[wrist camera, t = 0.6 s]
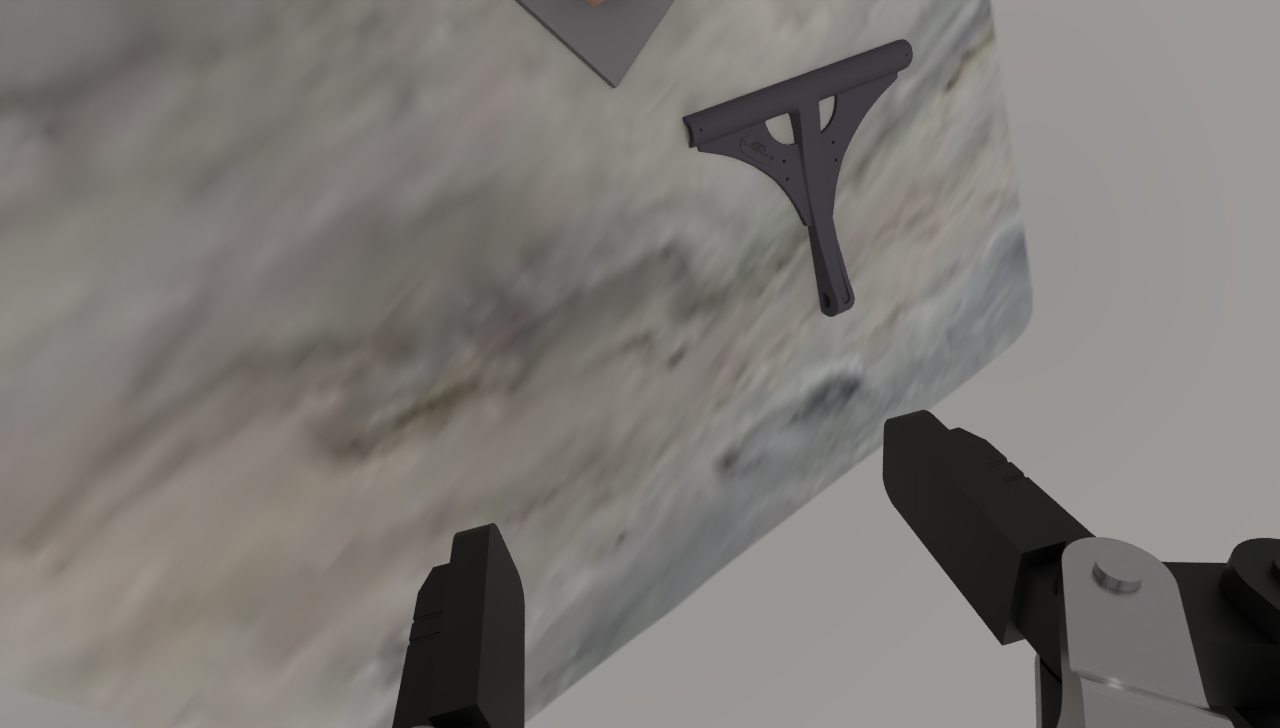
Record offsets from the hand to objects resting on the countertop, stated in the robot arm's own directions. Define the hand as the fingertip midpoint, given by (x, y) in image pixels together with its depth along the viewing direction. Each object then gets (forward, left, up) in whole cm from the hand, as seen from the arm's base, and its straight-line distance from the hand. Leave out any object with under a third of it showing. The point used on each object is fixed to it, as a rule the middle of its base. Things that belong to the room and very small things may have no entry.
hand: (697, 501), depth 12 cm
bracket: (+17, +8, -24) cm, 30 cm away
